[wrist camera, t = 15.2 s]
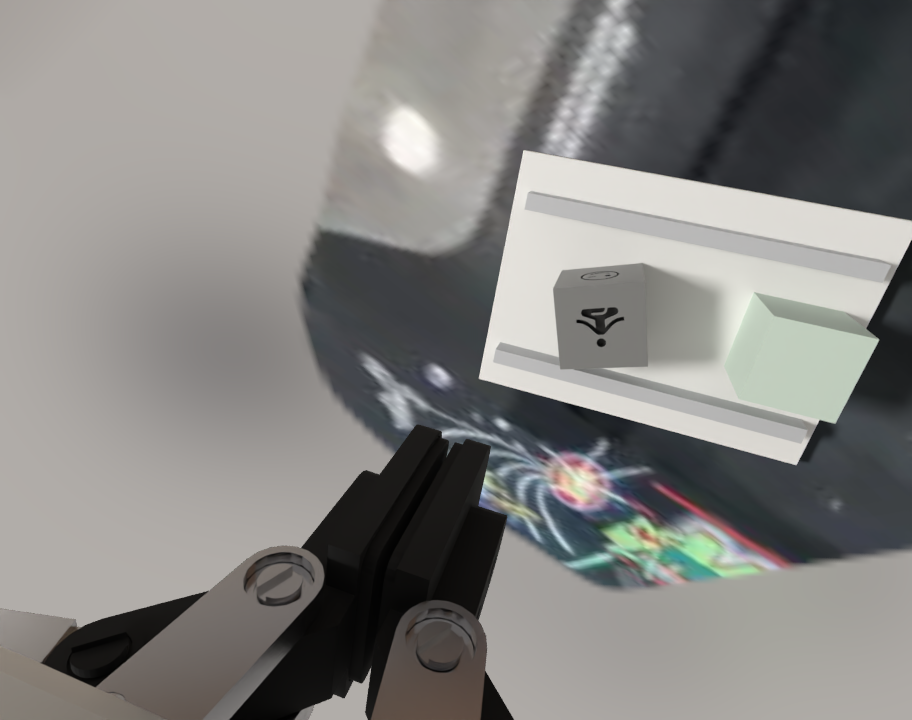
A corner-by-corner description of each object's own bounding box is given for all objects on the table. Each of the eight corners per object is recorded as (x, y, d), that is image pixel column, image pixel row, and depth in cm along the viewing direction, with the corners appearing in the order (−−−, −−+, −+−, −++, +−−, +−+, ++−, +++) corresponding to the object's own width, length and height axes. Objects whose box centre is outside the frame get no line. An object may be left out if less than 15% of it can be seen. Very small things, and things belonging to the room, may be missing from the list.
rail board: (911, 220, 30) (973, 237, 25) (792, 457, 37) (820, 511, 31) (526, 149, 34) (508, 151, 29) (482, 373, 41) (460, 408, 35)
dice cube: (642, 262, 34) (645, 281, 29) (644, 338, 35) (647, 366, 31) (561, 270, 35) (552, 288, 31) (568, 342, 37) (560, 369, 33)
